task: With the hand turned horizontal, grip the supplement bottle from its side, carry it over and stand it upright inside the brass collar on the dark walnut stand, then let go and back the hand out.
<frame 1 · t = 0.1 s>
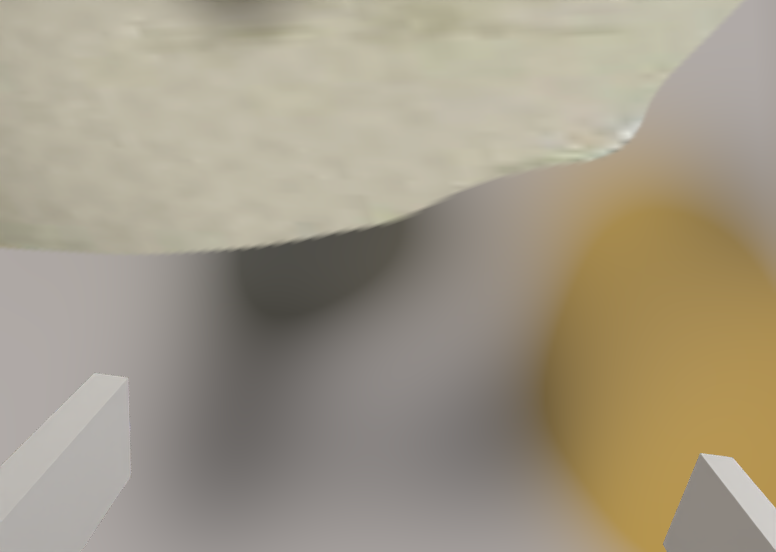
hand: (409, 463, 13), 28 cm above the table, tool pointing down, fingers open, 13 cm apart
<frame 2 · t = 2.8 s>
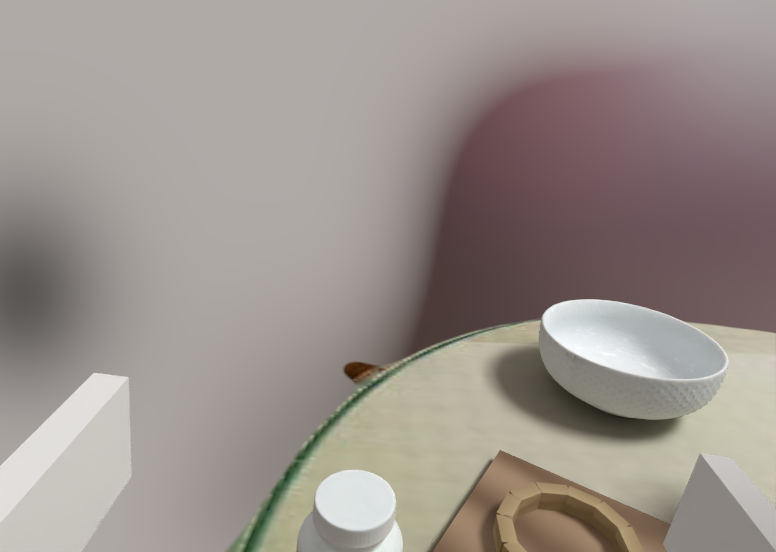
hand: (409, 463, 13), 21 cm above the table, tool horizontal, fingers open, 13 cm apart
cereal bowl: (612, 396, 57), on the table
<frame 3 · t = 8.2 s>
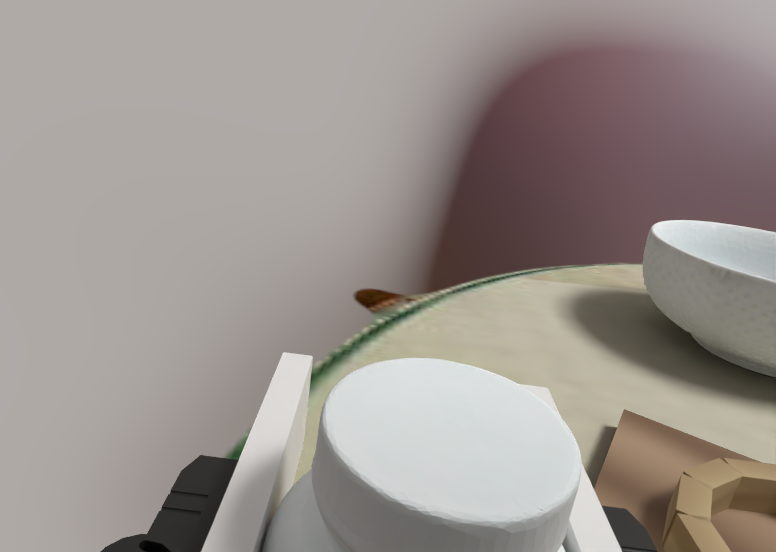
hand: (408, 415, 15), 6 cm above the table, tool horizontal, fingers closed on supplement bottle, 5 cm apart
cereal bowl: (750, 353, 38), on the table
when the fingers open (8 cm above the table, at t = 13.3 s): supplement bottle stays where it is, resting on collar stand.
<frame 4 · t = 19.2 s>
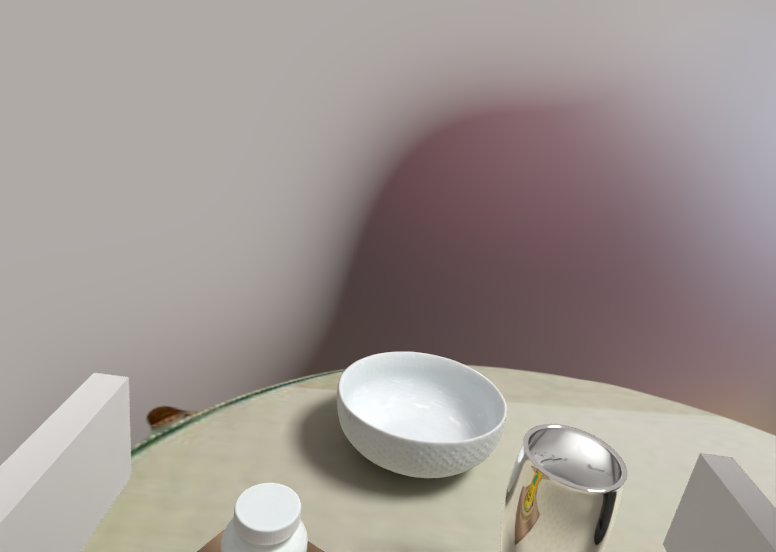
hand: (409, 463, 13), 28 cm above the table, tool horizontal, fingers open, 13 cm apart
cereal bowl: (411, 449, 58), on the table
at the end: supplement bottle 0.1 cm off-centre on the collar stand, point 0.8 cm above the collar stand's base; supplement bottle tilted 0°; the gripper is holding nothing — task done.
